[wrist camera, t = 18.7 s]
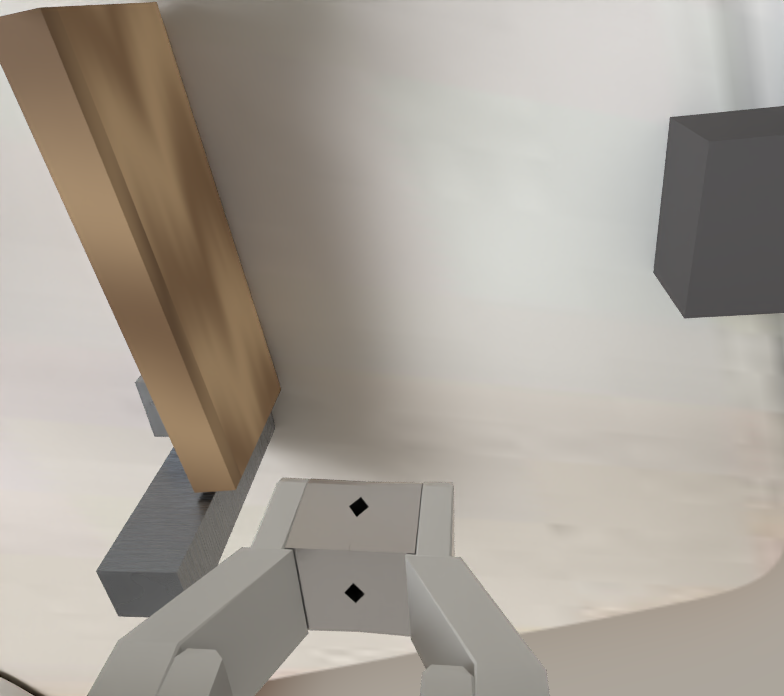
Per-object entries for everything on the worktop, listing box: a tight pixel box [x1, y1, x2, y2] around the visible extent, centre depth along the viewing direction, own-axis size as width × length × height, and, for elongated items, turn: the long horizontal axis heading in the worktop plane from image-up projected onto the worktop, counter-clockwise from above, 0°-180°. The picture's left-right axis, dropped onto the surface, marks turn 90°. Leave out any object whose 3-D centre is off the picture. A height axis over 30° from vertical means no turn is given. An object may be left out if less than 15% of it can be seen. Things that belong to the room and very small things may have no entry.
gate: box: [0, 2, 281, 493], centre depth 18 cm, size 13×1×6 cm, turn 10°
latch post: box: [96, 376, 275, 617], centre depth 21 cm, size 4×3×9 cm
